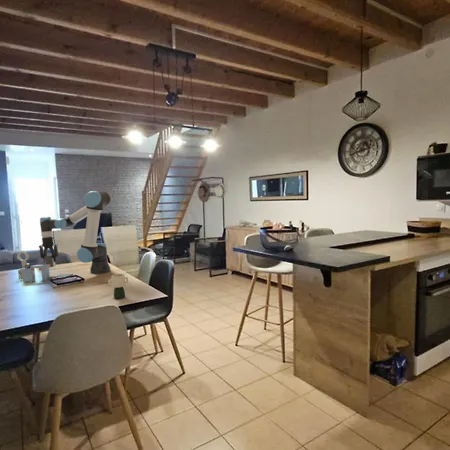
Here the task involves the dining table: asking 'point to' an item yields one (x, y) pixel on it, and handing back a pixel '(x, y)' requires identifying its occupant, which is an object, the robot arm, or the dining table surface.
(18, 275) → the engine component
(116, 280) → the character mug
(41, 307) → the dining table surface
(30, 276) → the housing
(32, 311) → the dining table surface
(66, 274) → the felt mat
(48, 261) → the plug
